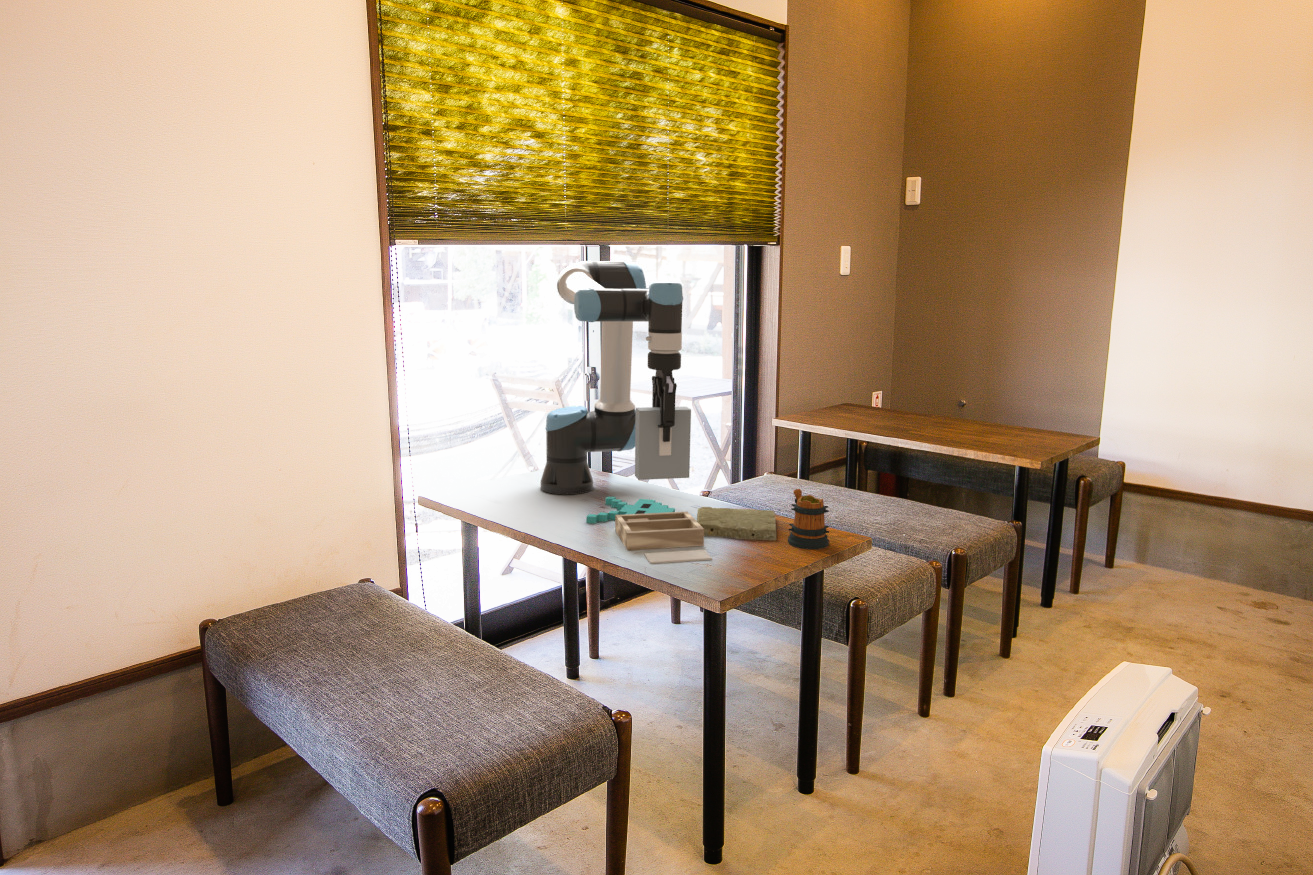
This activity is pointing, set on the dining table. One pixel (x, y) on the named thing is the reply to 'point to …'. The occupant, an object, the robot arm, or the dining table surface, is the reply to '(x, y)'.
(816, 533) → the mug
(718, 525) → the decorative tile
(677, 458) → the slate board
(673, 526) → the rack
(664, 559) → the felt mat
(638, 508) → the alien figure
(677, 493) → the dining table surface
